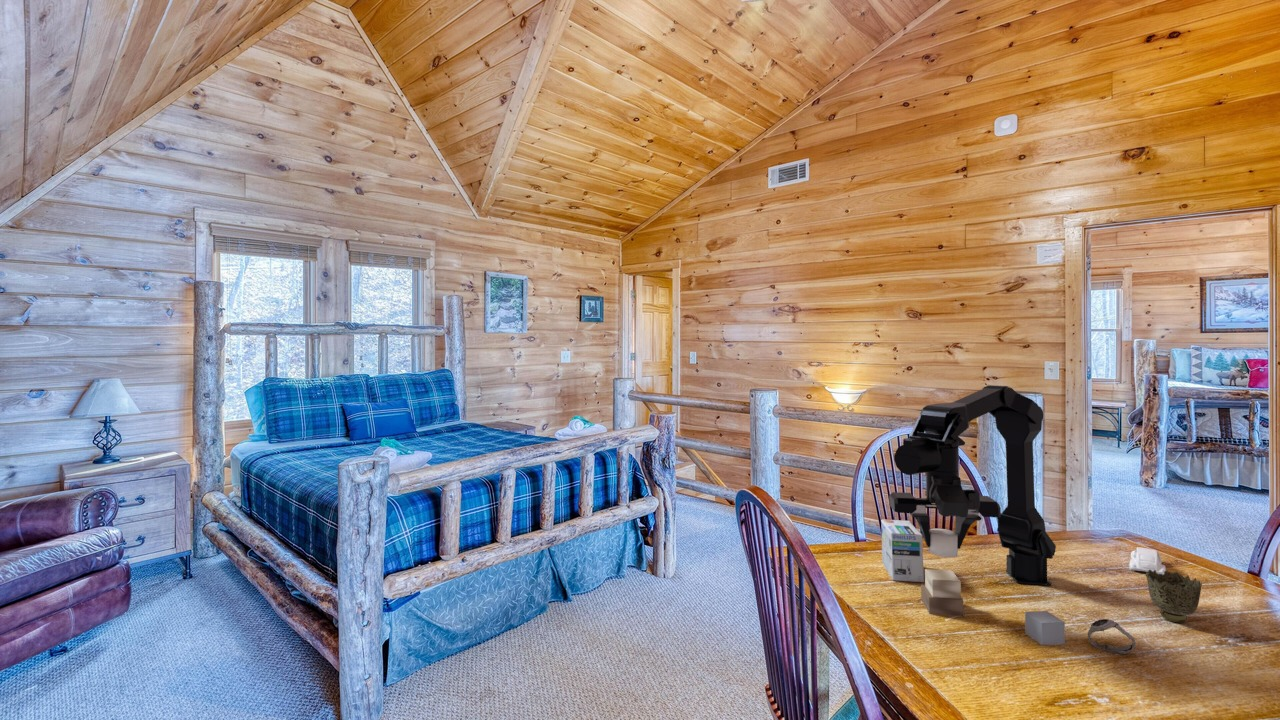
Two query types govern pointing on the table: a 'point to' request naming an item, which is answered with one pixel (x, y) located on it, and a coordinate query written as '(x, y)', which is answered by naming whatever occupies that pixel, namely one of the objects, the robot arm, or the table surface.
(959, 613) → the tower base
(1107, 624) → the wristwatch
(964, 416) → the robot arm
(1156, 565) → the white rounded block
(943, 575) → the tower top
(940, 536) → the white cylinder
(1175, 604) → the cup
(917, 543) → the light bulb box
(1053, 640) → the block
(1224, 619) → the table surface
